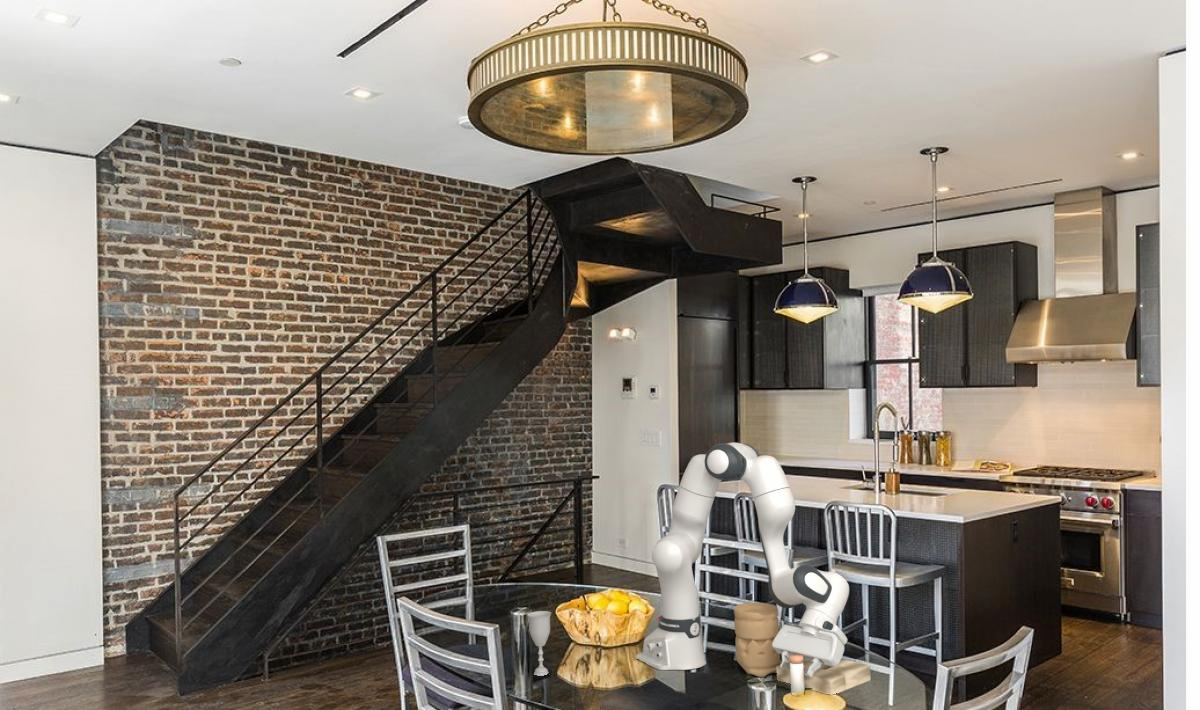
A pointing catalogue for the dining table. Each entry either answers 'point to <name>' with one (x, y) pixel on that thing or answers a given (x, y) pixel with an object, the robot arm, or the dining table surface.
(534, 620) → the chalice
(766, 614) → the container
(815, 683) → the socket block
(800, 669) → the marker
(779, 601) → the robot arm
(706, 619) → the dining table surface
